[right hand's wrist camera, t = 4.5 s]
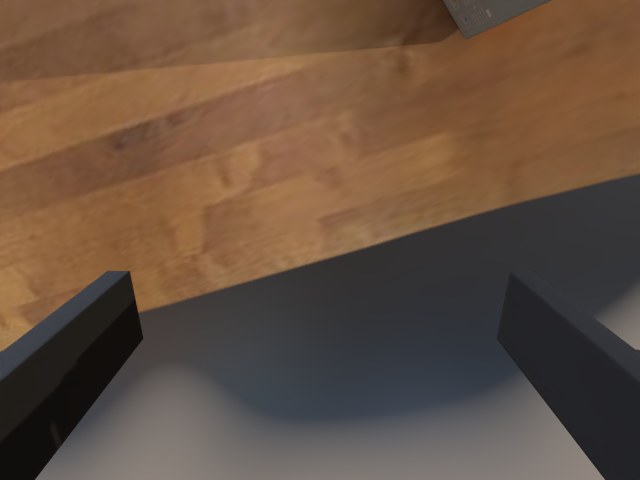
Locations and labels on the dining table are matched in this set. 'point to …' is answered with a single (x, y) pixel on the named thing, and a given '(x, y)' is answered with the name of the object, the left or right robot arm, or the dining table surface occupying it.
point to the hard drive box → (486, 13)
